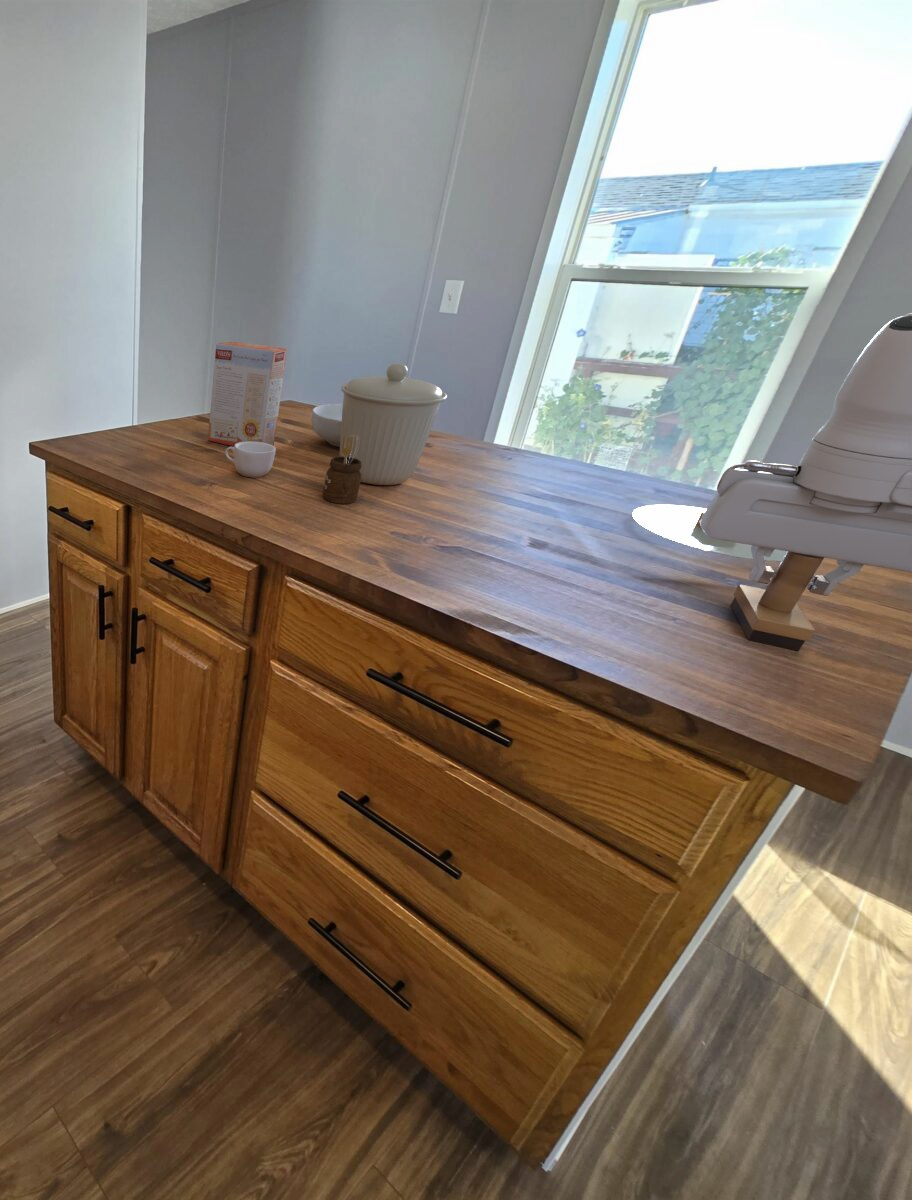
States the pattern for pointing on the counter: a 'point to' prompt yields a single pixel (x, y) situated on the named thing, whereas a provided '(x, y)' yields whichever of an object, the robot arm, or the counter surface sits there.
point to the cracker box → (246, 393)
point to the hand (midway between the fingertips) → (786, 586)
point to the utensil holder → (343, 477)
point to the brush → (778, 604)
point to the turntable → (691, 530)
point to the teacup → (252, 458)
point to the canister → (388, 423)
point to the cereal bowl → (328, 422)
